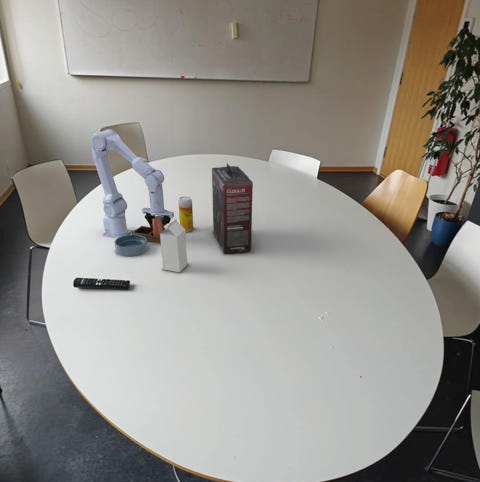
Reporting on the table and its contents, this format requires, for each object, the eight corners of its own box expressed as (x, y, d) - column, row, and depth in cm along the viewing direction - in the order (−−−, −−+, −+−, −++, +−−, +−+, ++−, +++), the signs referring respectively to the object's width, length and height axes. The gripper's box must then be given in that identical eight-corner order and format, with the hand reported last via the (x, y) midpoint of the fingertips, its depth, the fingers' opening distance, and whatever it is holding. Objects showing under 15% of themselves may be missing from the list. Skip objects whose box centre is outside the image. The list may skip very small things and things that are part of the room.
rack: (132, 239, 191) (131, 232, 189) (142, 232, 197) (141, 225, 196) (164, 245, 186) (163, 238, 184) (173, 238, 193) (172, 231, 191)
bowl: (109, 254, 179) (108, 244, 176) (127, 242, 189) (126, 232, 186) (136, 259, 175) (135, 249, 172) (153, 247, 185) (152, 237, 182)
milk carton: (187, 264, 172) (184, 219, 161) (179, 272, 166) (176, 226, 156) (171, 262, 173) (167, 217, 163) (163, 269, 168) (158, 223, 157)
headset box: (212, 231, 199) (210, 158, 182) (238, 229, 202) (239, 156, 184) (223, 254, 179) (222, 174, 161) (252, 252, 182) (254, 173, 164)
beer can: (191, 232, 198) (189, 201, 190) (178, 231, 199) (176, 200, 191) (195, 227, 203) (193, 196, 195) (182, 226, 204) (180, 195, 196)
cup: (150, 236, 188) (148, 219, 184) (157, 232, 192) (156, 214, 188) (162, 239, 186) (160, 221, 182) (169, 234, 191) (167, 216, 186)
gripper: (136, 201, 180) (140, 231, 187) (167, 206, 176) (169, 237, 183) (145, 196, 185) (148, 225, 193) (175, 200, 181) (177, 230, 188)
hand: (159, 230), depth 188 cm, fingers closed on cup, 6 cm apart
